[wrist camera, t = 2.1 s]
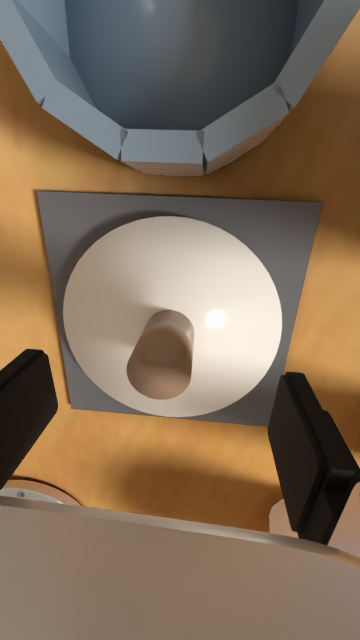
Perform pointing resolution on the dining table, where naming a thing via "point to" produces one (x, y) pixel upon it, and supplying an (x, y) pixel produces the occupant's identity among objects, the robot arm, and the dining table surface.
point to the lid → (172, 316)
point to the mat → (229, 214)
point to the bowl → (172, 71)
